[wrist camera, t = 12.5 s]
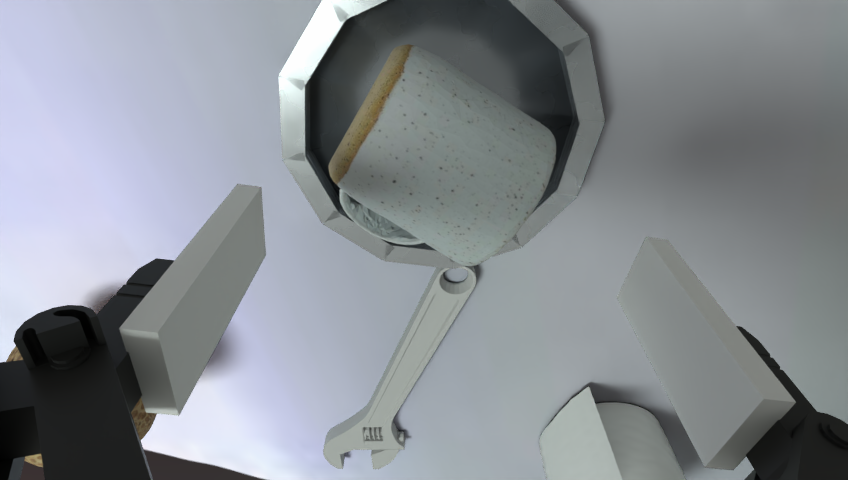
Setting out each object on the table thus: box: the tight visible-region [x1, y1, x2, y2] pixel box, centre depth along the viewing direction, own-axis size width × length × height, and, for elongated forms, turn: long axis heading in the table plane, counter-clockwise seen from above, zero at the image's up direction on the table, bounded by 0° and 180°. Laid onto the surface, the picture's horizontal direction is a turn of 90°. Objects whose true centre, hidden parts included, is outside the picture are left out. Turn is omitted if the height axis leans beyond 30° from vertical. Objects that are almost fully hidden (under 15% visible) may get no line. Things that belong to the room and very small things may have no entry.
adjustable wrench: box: [323, 266, 476, 469], centre depth 36 cm, size 25×6×2 cm, turn 154°
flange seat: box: [279, 0, 605, 269], centre depth 24 cm, size 16×16×2 cm
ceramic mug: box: [328, 44, 556, 266], centre depth 21 cm, size 11×8×8 cm
